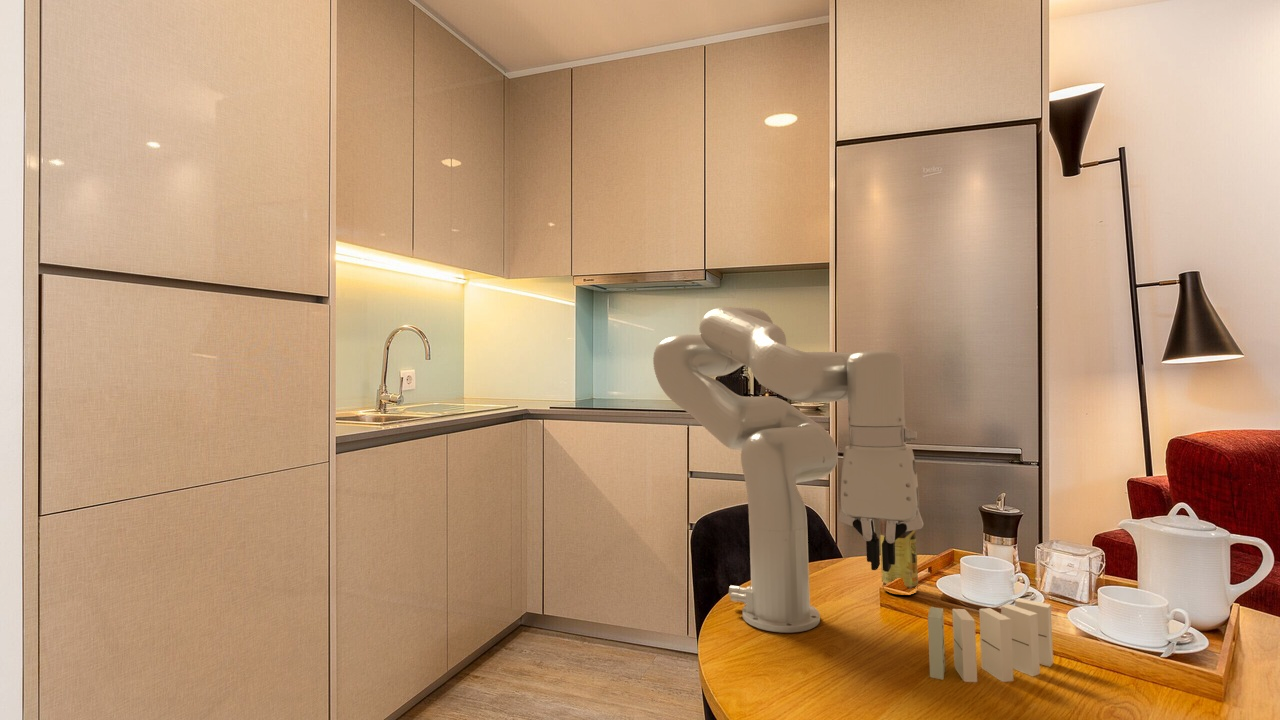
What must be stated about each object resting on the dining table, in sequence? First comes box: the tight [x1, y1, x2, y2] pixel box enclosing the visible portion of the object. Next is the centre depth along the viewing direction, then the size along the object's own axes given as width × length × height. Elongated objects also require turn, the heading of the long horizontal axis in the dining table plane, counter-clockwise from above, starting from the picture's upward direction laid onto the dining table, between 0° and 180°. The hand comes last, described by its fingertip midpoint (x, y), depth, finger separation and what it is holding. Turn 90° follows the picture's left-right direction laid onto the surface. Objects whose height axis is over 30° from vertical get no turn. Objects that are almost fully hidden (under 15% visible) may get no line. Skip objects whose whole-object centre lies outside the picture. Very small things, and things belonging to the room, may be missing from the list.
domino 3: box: [1000, 603, 1041, 677], centre depth 85 cm, size 2×4×8 cm, turn 26°
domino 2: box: [978, 607, 1014, 683], centre depth 84 cm, size 2×4×8 cm, turn 8°
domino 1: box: [952, 608, 978, 683], centre depth 84 cm, size 2×4×8 cm, turn 170°
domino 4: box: [1014, 597, 1054, 668], centre depth 88 cm, size 2×4×8 cm, turn 45°
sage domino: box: [927, 606, 946, 680], centre depth 85 cm, size 2×4×8 cm, turn 151°
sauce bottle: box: [879, 520, 919, 589], centre depth 116 cm, size 6×6×20 cm
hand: (881, 567), depth 89 cm, fingers closed
